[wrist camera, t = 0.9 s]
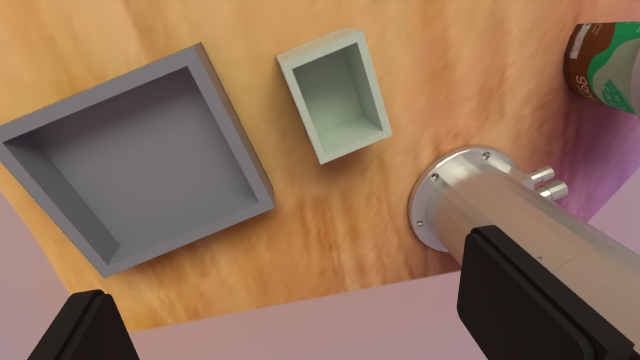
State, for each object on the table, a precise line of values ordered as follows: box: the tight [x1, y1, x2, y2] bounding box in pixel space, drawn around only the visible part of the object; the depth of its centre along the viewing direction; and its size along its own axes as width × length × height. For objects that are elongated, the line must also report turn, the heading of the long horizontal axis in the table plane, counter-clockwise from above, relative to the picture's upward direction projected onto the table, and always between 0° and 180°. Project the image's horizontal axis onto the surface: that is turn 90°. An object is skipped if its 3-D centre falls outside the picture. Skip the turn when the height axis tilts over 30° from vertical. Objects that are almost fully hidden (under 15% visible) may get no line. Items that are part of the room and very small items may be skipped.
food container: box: [563, 21, 640, 119], centre depth 30 cm, size 12×6×10 cm, turn 65°
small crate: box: [275, 28, 392, 164], centre depth 28 cm, size 6×8×6 cm
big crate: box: [0, 42, 275, 278], centre depth 29 cm, size 16×14×4 cm
